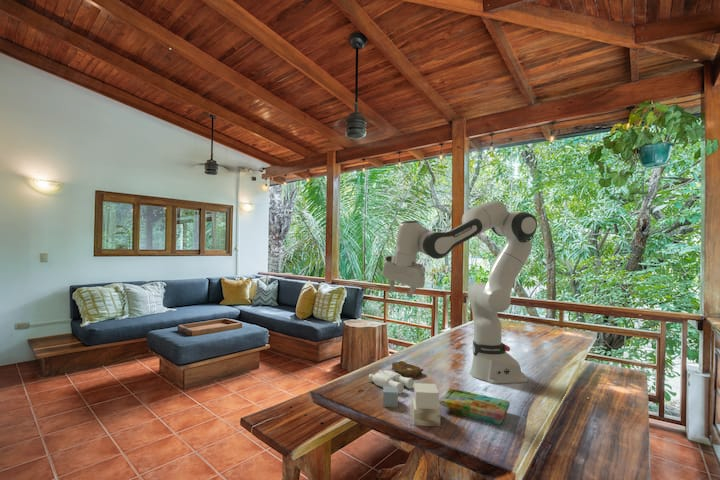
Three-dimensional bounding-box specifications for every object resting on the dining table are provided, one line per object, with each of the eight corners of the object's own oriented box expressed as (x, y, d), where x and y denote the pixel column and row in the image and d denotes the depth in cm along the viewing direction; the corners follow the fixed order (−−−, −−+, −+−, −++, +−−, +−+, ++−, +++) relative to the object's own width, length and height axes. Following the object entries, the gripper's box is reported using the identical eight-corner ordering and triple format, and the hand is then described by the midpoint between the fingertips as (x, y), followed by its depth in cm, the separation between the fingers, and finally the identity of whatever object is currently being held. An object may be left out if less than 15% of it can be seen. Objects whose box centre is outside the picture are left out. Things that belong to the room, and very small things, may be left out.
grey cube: (397, 400, 123) (397, 386, 123) (397, 407, 118) (397, 392, 118) (383, 400, 124) (383, 386, 124) (383, 406, 119) (383, 392, 119)
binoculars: (397, 396, 128) (397, 383, 128) (366, 383, 139) (366, 371, 139) (414, 388, 135) (414, 375, 135) (383, 376, 146) (383, 365, 147)
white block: (435, 399, 114) (435, 383, 114) (438, 409, 107) (438, 392, 107) (414, 398, 114) (414, 383, 114) (415, 408, 107) (416, 392, 107)
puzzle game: (503, 413, 105) (439, 397, 116) (503, 429, 105) (439, 411, 116) (509, 399, 115) (450, 385, 126) (509, 413, 115) (450, 398, 126)
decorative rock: (383, 372, 152) (410, 383, 141) (383, 363, 152) (410, 374, 141) (400, 365, 160) (427, 375, 149) (400, 356, 160) (427, 366, 149)
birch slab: (436, 414, 114) (436, 398, 114) (440, 426, 106) (440, 410, 106) (411, 413, 114) (412, 397, 115) (413, 425, 107) (414, 409, 107)
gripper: (430, 265, 134) (425, 300, 135) (392, 256, 149) (388, 287, 150) (420, 265, 129) (415, 301, 131) (382, 256, 145) (378, 288, 146)
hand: (400, 293), depth 140 cm, fingers open, 8 cm apart
